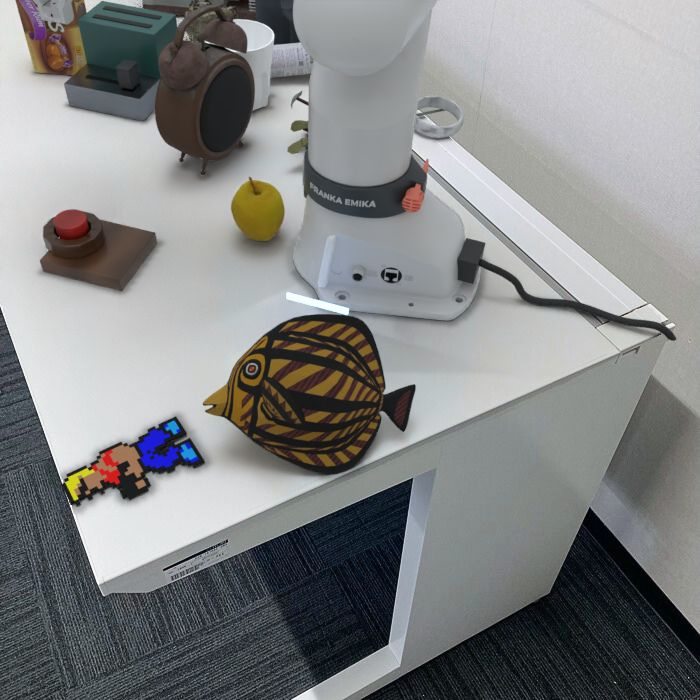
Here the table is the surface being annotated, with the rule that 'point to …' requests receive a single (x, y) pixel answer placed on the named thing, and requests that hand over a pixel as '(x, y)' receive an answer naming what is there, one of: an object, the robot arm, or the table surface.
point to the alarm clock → (205, 89)
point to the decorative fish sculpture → (312, 393)
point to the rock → (205, 17)
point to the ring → (445, 105)
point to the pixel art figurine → (133, 463)
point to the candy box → (53, 39)
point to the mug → (278, 19)
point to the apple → (258, 210)
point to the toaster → (120, 59)
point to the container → (290, 60)
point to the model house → (178, 3)
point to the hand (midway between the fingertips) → (58, 20)
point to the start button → (71, 224)
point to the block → (98, 252)
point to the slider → (128, 74)
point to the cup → (258, 57)
